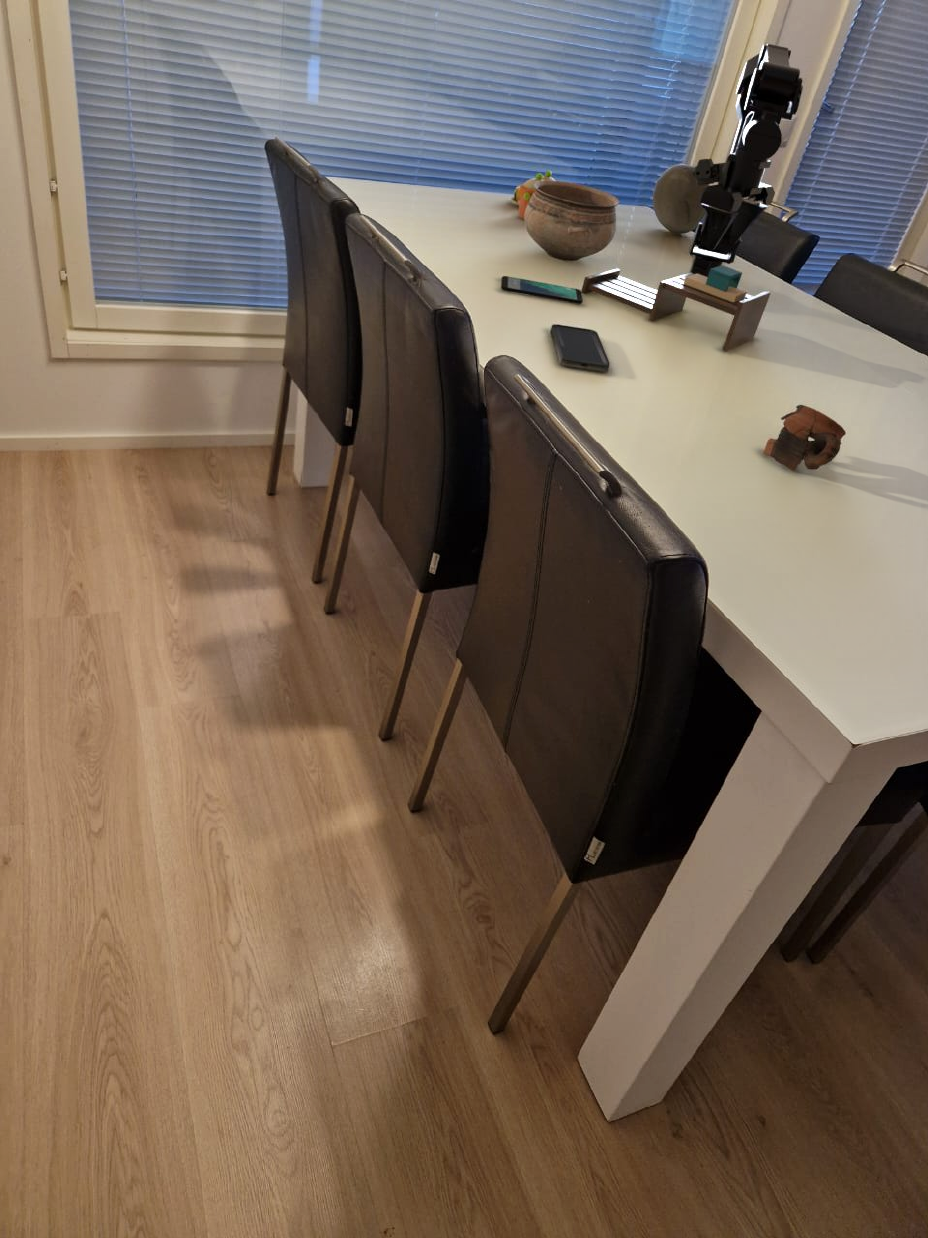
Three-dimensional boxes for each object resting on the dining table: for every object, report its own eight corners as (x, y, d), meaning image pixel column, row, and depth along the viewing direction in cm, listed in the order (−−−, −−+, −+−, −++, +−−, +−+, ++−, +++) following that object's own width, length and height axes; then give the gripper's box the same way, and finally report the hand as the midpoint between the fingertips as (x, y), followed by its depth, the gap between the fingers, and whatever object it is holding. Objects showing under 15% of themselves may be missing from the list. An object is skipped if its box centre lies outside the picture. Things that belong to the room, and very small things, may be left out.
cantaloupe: (707, 235, 216) (728, 170, 207) (687, 244, 206) (708, 175, 197) (656, 219, 221) (674, 154, 212) (634, 227, 211) (652, 159, 202)
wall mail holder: (695, 279, 157) (702, 257, 155) (744, 298, 153) (752, 275, 150) (683, 283, 154) (690, 261, 151) (733, 302, 150) (741, 279, 147)
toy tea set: (584, 232, 199) (595, 187, 193) (519, 223, 196) (528, 176, 190) (561, 202, 219) (570, 160, 213) (501, 193, 216) (509, 150, 210)
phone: (596, 330, 144) (611, 365, 133) (594, 336, 145) (609, 372, 133) (550, 323, 143) (560, 358, 132) (548, 329, 144) (559, 365, 132)
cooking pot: (620, 281, 173) (637, 216, 166) (528, 268, 170) (542, 202, 162) (592, 243, 192) (606, 184, 185) (509, 231, 189) (520, 170, 181)
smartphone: (501, 274, 161) (580, 288, 162) (501, 278, 161) (579, 293, 162) (501, 286, 155) (583, 301, 156) (500, 290, 156) (582, 305, 157)
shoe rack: (613, 283, 171) (625, 238, 166) (753, 339, 158) (771, 292, 153) (580, 292, 163) (592, 246, 158) (725, 351, 150) (743, 303, 145)
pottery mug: (745, 445, 122) (782, 393, 120) (789, 477, 126) (825, 428, 124) (795, 467, 111) (835, 411, 109) (841, 501, 115) (881, 448, 113)
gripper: (733, 136, 157) (705, 227, 167) (687, 140, 145) (659, 237, 154) (790, 153, 152) (757, 245, 162) (747, 158, 140) (714, 257, 149)
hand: (721, 245), depth 157 cm, fingers open, 9 cm apart
